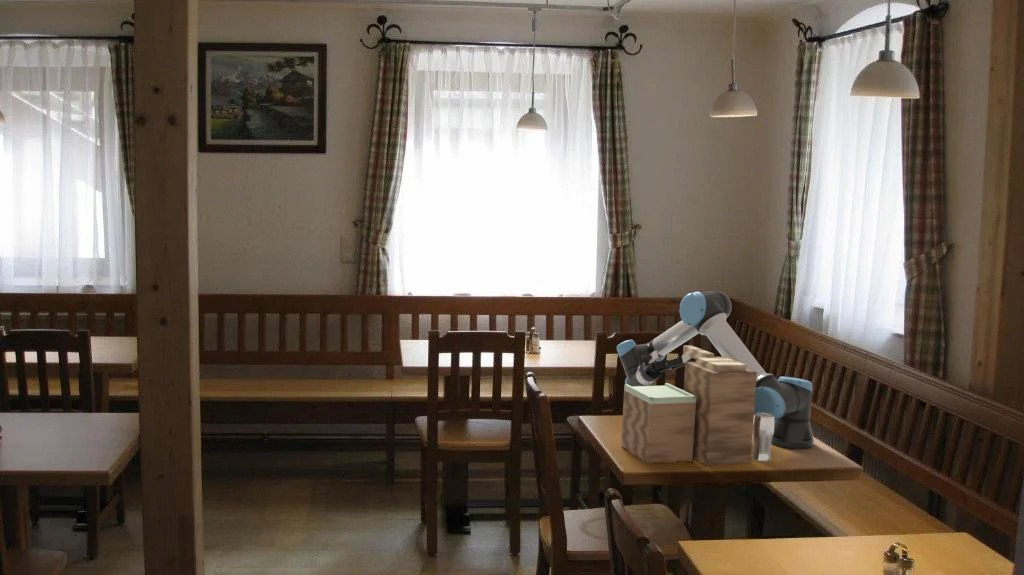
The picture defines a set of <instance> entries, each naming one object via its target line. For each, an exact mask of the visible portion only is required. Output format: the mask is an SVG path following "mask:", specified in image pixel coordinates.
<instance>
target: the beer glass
mask: <svg viewBox="0 0 1024 575" xmlns="http://www.w3.org/2000/svg"><path fill="white" fill-rule="evenodd" d="M774 427H775V416H774V415H773V414H770V413H762V412H759V413H754V420H753V435H752V443H753V451H752V453H751V459H752V460H753V461H755V462H759V463H767V462H768V463H770V462H771V460H772V459H771V457H772V456H771V447H772V439H773V435H774Z"/></svg>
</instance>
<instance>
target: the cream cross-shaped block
mask: <svg viewBox="0 0 1024 575" xmlns="http://www.w3.org/2000/svg"><path fill="white" fill-rule="evenodd" d="M683 354H684V355H687V356H689V357H692V358H691V359H695V362H696V364H699V365H701V366H704V367H706V368H709V369H711V370H714V371H716V372H727V371H746V365H745V364H743V363H740V362H737V361H735V360H732V359H729V358H726V357H722V356H715V353H713V352H710V351H707V350H704V349H702V348H699V347H697V346H694V345H691V344H690V345H687V344H686V345H683V349H682V355H683Z"/></svg>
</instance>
